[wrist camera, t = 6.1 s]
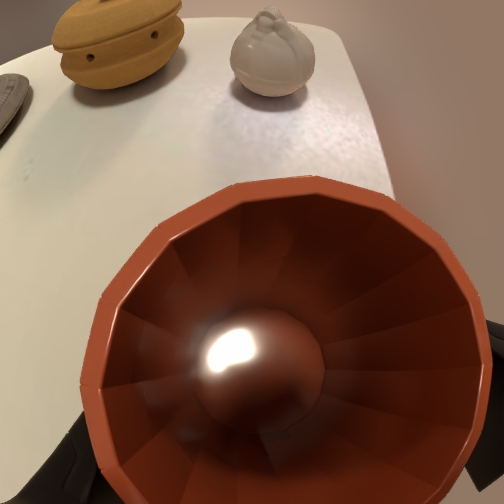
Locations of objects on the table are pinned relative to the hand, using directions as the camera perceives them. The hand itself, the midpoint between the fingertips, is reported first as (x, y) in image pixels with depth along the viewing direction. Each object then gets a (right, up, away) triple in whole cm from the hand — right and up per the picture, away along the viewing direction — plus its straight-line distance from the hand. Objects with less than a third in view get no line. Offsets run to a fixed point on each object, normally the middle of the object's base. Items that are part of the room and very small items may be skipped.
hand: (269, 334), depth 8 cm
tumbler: (0, -4, +6) cm, 7 cm away
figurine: (+1, +16, +14) cm, 21 cm away
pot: (-12, +20, +14) cm, 27 cm away
